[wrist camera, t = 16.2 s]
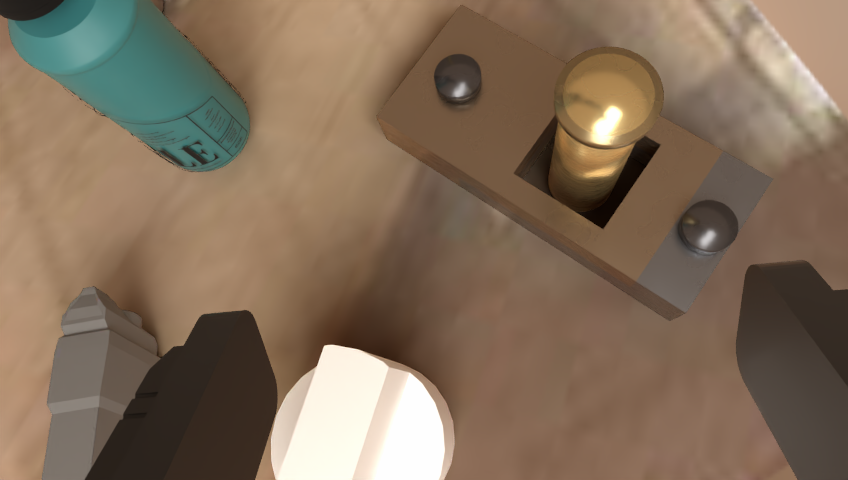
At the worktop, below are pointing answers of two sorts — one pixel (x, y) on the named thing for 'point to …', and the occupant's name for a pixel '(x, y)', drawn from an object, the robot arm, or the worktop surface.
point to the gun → (93, 381)
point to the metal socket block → (531, 132)
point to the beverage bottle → (134, 74)
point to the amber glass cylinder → (600, 122)
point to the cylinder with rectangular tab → (362, 422)
